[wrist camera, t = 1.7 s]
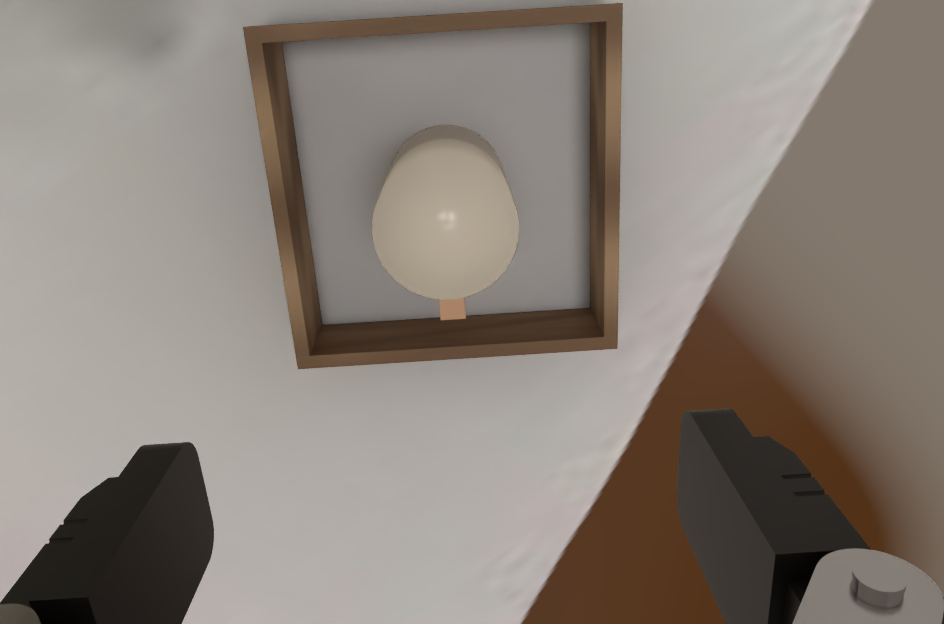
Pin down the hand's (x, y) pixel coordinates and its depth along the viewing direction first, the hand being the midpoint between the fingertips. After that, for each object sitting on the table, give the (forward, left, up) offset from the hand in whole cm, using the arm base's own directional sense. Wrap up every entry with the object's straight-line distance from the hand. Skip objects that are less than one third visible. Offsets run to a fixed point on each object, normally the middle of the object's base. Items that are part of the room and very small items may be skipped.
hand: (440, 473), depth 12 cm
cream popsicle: (0, 0, -23) cm, 23 cm away
